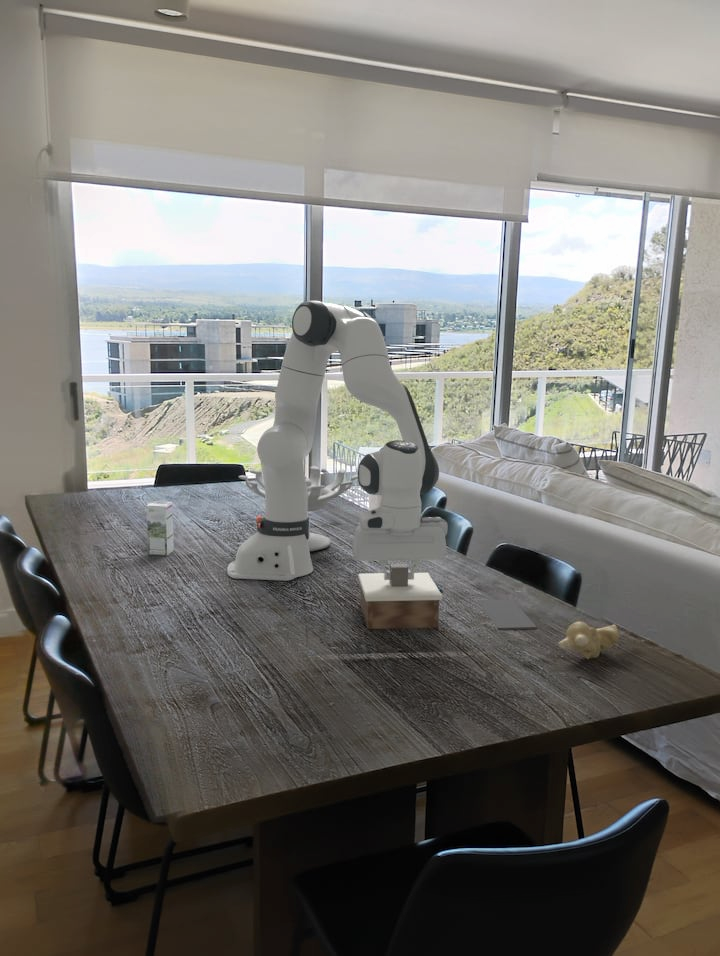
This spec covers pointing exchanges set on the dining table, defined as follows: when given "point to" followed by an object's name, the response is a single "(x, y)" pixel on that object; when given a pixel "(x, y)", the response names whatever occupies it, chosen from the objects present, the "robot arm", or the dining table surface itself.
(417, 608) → the walnut box
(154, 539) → the syrup box
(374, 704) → the dining table surface
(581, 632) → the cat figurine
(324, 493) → the candelabra
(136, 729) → the dining table surface
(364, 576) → the lid
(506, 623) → the rubber mat
